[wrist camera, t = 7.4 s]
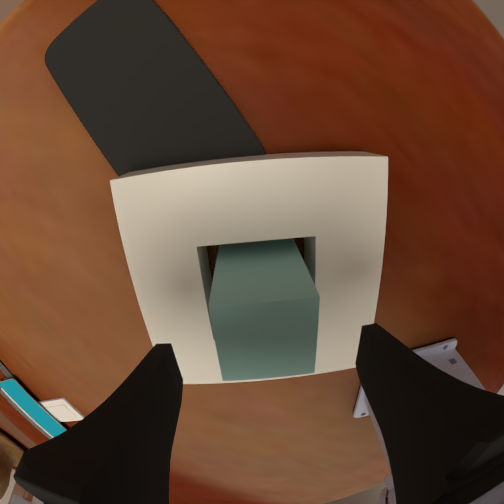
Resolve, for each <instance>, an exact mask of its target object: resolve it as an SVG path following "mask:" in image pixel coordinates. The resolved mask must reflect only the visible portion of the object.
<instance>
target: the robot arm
mask: <svg viewBox="0 0 504 504" xmlns="http://www.w3.org/2000/svg"><path fill="white" fill-rule="evenodd" d="M456 345H457V340H456V339H455V338H454V339H450V340H447V341H443V342H440V343H437V344H433V345H430V346H426V347H422V348H419V349H415V350H411V349H409V348H408V347H407V346H405V345H404V344H403V343H401V342H400V341H399V340H398V339H396V338H395V337H394V336H392V335H391V334H390V333H389V332H387V331H386V330H385V329H383V328H382V327H381V326H379V325H378V324H377V323H374V324H369V325H363V326H362V328H361V334H360V340H359V346H358V352H357V357H356V362H355V364H356V368H357V372H358V375H359V379H360V382H361V386H360V390H359V394H358V398H357V402H356V405H355V409H354V412H353V416H354V418H359V417H364V416H368V415H370V418H371V420H372V423H373V426H374V428H375V431H376V434H377V436H378V439H379V442H380V445H381V447H382V450H383V453H384V456H385V459H386V461H387V464H388V467H389V470H390V473H391V475H389V476H388V477H386V478H385V479H384V480H385V483H386V486H387V487H386V488H385V489H383V490H382V492H381V494H380V497H379V501H378V503H377V504H504V396H503V395H499V394H495V393H492V392H489V391H486V390H485V389H484V387H483V386H482V384H481V383H480V381H479V380H478V379H477V377H476V376H475V374H474V373H473V372H472V370H471V369H470V368H469V366H468V365H467V364H466V362H465V361H464V360H463V358H462V357H461V356H460V354H459V353H458V352H457V351H456V349H455V347H456ZM182 390H183V378H182V375H181V372H180V369H179V366H178V363H177V360H176V357H175V354H174V351H173V348H172V344H171V343H163V344H155V346H154V347H153V348H152V349H151V350H150V351H149V353H148V354H147V355H146V356H145V357H144V359H143V360H142V361H141V362H140V363H139V365H138V366H137V367H136V368H135V369H134V371H133V372H132V373H131V374H130V375H129V376H128V377H127V379H126V380H125V381H124V382H123V383H122V384H121V385H120V386H119V387H118V388H117V389H116V390H115V391H114V392H113V393H112V395H111V396H110V397H109V398H107V399H106V400H105V401H104V402H103V403H102V404H101V405H100V406H99V407H97V408H96V409H95V410H94V411H93V412H92V413H90V414H89V415H88V416H86V417H85V418H84V419H82V420H81V421H79V422H78V423H77V424H75V425H74V426H72V427H71V428H69V429H68V430H66V431H64V432H63V433H61V434H59V435H58V436H56V437H54V438H52V439H50V440H48V441H46V442H44V443H42V444H40V445H37V446H35V447H33V448H30V449H28V450H25V451H24V452H23V455H22V457H21V459H20V461H19V464H18V466H17V469H16V471H15V473H14V476H13V477H14V480H15V481H16V482H17V483H18V484H19V485H20V486H21V487H22V488H24V489H25V490H26V491H28V492H29V493H30V494H32V495H33V496H34V497H36V498H37V499H39V500H40V501H42V502H43V503H44V504H169V473H170V458H171V451H172V445H173V440H174V436H175V431H176V426H177V421H178V417H179V412H180V407H181V401H182ZM11 504H34V503H32V502H30V501H28V500H26V499H24V498H22V497H20V496H18V495H16V494H14V495H13V498H12V501H11Z"/></svg>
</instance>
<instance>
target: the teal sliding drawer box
mask: <svg viewBox="0 0 504 504" xmlns="http://www.w3.org/2000/svg"><path fill="white" fill-rule="evenodd" d="M0 370H1V371H2V372H3V373H4V375H5V376H6V378H4V380H5V381H1V382H0V393H1V394H2V395H3V396H4V397H5V398H6V400H7V401H8V402H9V403H10V404H11V405H12V406H13V407H14V408H15V409H16V410H17V411H18V412H19V413H20V414H21V415H23V416H24V417H25V418H26V419H27V420H28V421H29V422H30V423H31V424H32V425H33V426H34V427H36V428H37V429H38V430H39V431H40V432H41V433H43V434H44V435H45V436H46V437H47V438H48V439H52V438H54V437H56V436H58V435H59V434H61V433H63V432H64V431H66V430H68V429H67V428H66V427H64V426H63V425H62V424H61V423H60V422H67V421H78V420H82V419H84V418H85V416H83V415H82V414H81V413H80V412H79V411H78V410H77V409H76V408H75V407H74V406H73V405H72V404H70V403H69V402H68V401H67V400H66V399H65V398H64V397H61V398H56V399H50V400H44V401H38V402H37V401H36V400H35V399H34V398H33V397H32V396H31V395H30V394H29V393H28V392H27V391H26V389H25V388H24V387H23V386H22V385H21V384H20V383H19V381H17V380H16V379H15V377H14V376H13V375H12V374H11V373H10V372H9V371H8V369H7V368H6V367H5V366H4V365H2V363H1V362H0Z"/></svg>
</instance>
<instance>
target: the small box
mask: <svg viewBox="0 0 504 504" xmlns="http://www.w3.org/2000/svg"><path fill="white" fill-rule="evenodd" d="M23 498H24V499H26V500H28V501H30V502H32V499H33V495H32V494H30V493H29V492H28V491H26V490H25V493H24V496H23Z"/></svg>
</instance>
